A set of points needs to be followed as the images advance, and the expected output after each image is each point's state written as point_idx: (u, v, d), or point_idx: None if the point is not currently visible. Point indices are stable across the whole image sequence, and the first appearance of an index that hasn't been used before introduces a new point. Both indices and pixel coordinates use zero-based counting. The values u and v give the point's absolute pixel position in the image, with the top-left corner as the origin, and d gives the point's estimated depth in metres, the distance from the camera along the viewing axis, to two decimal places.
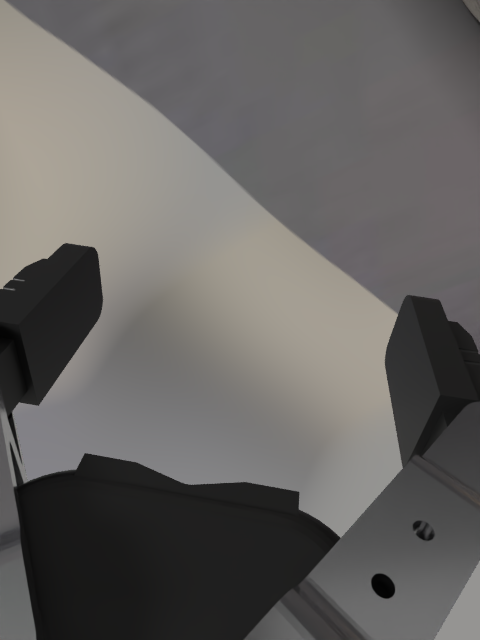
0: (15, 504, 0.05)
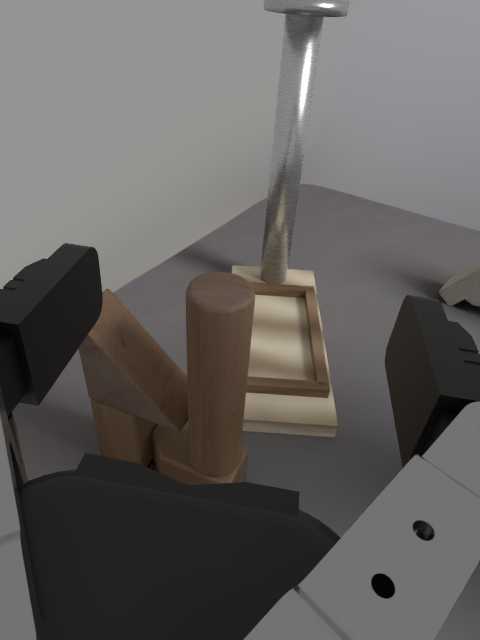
0: (15, 504, 0.05)
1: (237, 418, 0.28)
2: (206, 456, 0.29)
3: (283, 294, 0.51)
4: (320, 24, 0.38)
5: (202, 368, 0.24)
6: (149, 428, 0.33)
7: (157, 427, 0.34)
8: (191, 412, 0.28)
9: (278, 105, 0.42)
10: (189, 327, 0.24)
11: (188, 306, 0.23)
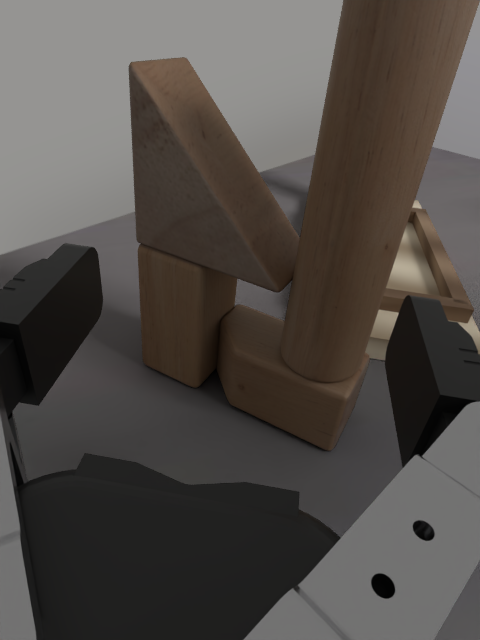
0: (15, 504, 0.05)
1: (388, 262, 0.16)
2: (320, 336, 0.17)
3: None
4: None
5: (361, 122, 0.13)
6: (219, 312, 0.22)
7: (229, 315, 0.22)
8: (309, 246, 0.16)
9: None
10: (351, 25, 0.12)
11: None
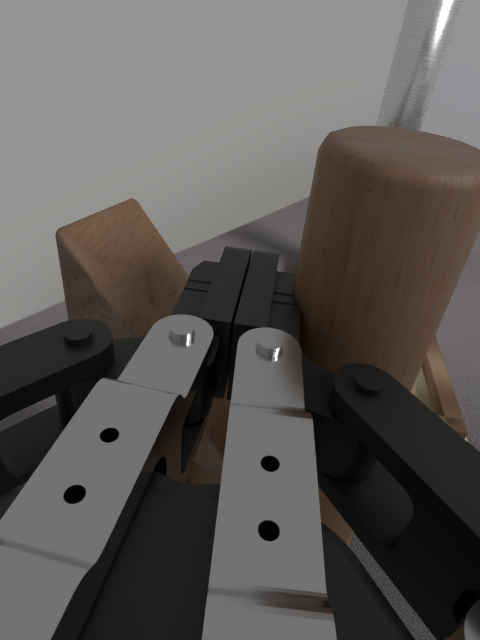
0: (111, 531, 0.05)
1: None
2: None
3: None
4: None
5: (333, 351, 0.10)
6: None
7: (194, 466, 0.19)
8: None
9: (411, 5, 0.29)
10: (318, 242, 0.10)
11: (328, 179, 0.09)
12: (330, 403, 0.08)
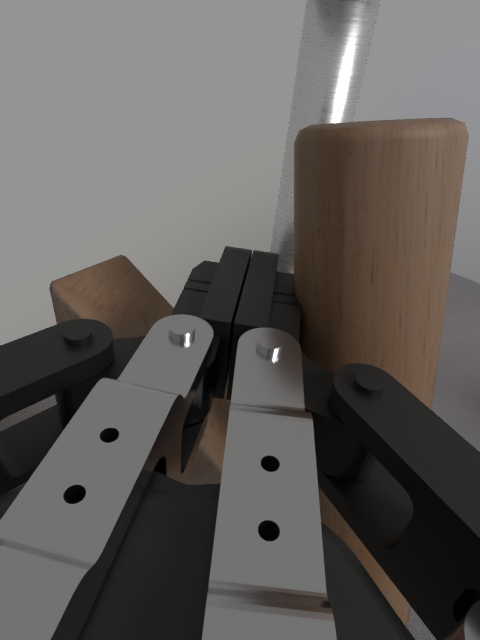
0: (111, 531, 0.05)
1: None
2: None
3: None
4: None
5: (348, 332, 0.10)
6: None
7: None
8: None
9: (290, 125, 0.23)
10: (310, 224, 0.10)
11: (309, 159, 0.09)
12: (330, 403, 0.08)
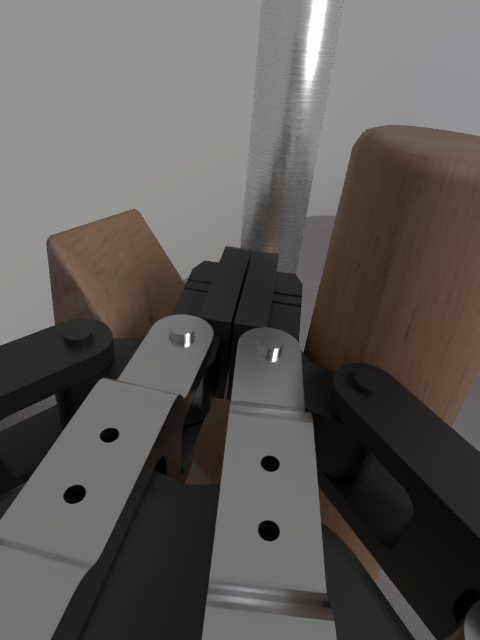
0: (111, 531, 0.05)
1: None
2: None
3: None
4: None
5: None
6: None
7: None
8: None
9: (260, 43, 0.18)
10: (350, 253, 0.08)
11: (366, 178, 0.07)
12: (330, 403, 0.08)
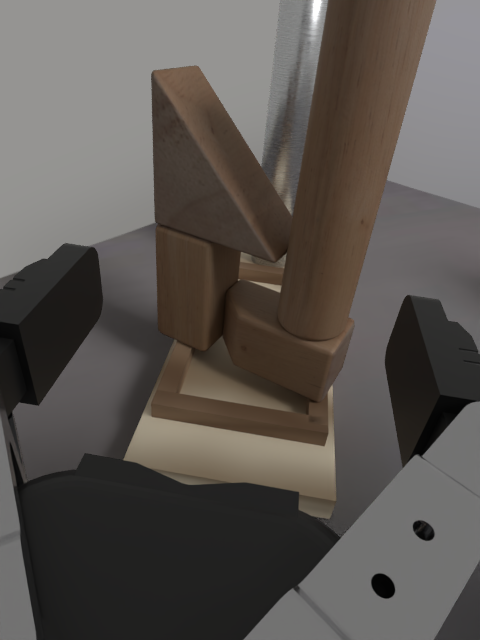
0: (15, 504, 0.05)
1: (364, 235, 0.19)
2: (309, 299, 0.21)
3: (279, 282, 0.35)
4: None
5: (338, 119, 0.16)
6: (225, 285, 0.25)
7: (234, 287, 0.26)
8: (300, 222, 0.20)
9: None
10: (329, 43, 0.16)
11: None
12: None
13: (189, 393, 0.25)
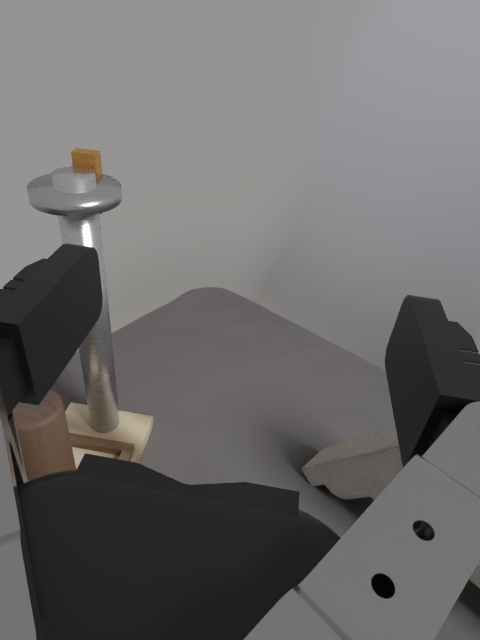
0: (15, 504, 0.05)
1: None
2: None
3: (100, 450, 0.48)
4: None
5: None
6: None
7: None
8: None
9: None
10: None
11: None
12: None
13: None
